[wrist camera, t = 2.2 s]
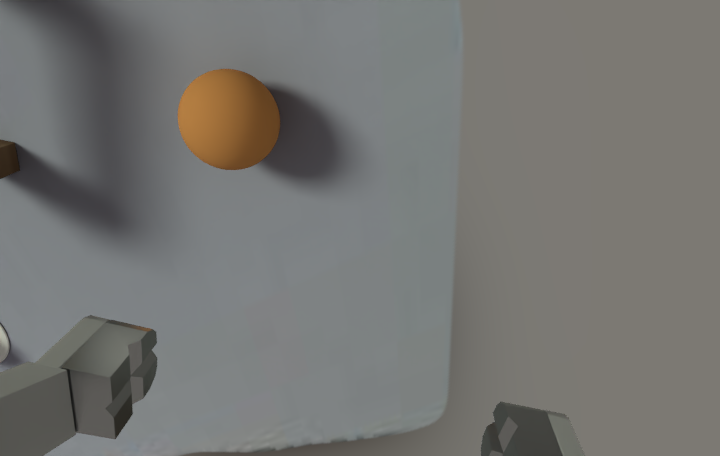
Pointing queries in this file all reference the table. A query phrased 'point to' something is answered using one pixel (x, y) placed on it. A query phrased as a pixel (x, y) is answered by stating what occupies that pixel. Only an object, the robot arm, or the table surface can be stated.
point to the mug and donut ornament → (3, 344)
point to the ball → (228, 119)
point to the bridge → (8, 158)
